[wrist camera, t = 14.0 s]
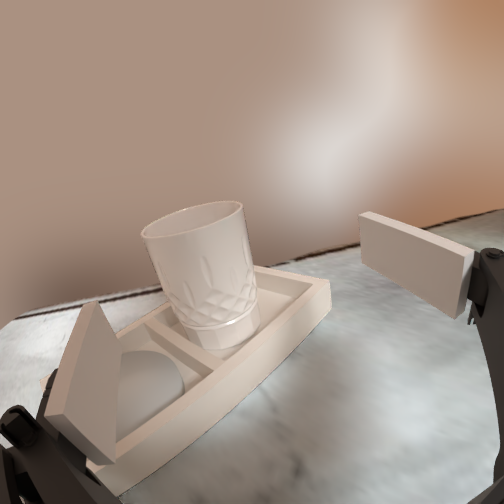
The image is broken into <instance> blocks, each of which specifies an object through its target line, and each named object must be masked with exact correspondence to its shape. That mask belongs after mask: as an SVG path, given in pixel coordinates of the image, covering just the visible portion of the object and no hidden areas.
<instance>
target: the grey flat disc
mask: <svg viewBox="0 0 504 504" xmlns="http://www.w3.org/2000/svg"><path fill="white" fill-rule="evenodd" d="M184 394H185V385H184V381H183V378H182V376H181V374H180V372H179V370H178V368H177V366H176V365H175V363H174V362H173V361H172V360H171V359H170V358H168V357H167V356H166V355H163V354H161V353H158V352H154V351H147V350H141V351H132V352H127V353H123V354H122V356H121V364H120V374H119V385H118V398H117V415H116V443H117V442H119V441H120V440H122V439H123V438H125V437H126V436H128V435H129V434H130V433H132V432H133V431H135V430H136V429H138V428H139V427H141V426H142V425H143V424H145V423H146V422H148V421H149V420H150V419H152V418H153V417H155V416H156V415H157V414H159V413H160V412H161V411H163V410H164V409H165V408H167V407H168V406H169V405H171V404H172V403H173V402H175V401H176V400H177V399H179V398H180V397H181V396H183V395H184Z"/></svg>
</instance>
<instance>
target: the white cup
mask: <svg viewBox="0 0 504 504" xmlns="http://www.w3.org/2000/svg"><path fill="white" fill-rule="evenodd" d="M141 237H142V239H143V242H144V244H145V247H146V250H147V252H148V254H149V257H150V259H151V262H152V265H153V267H154V269H155V272H156V274H157V276H158V279H159V281H160V284H161V286H162V288H163V290H164V293H165V295H166V297H167V299H168V302H169V303H170V305H171V307H172V309H173V311H174V314H175V316H176V317H177V318H178V319H179V321H180V323H181V325H182V327H183V329H184V331H185V333H186V335H187V337H188V339H189V340H190V341H191V342H192V343H194V344H196V345H197V346H199V347H201V348H202V349H204V350H222V349H226V348H229V347H232V346H235V345H238V344H241V343H242V342H244V341H245V340H246V339H248V338H249V337H251V336H252V335H253V334H254V333H255V332H256V330H257V328H258V327H259V325H260V323H261V318H260V310H259V305H258V300H257V285H256V278H255V271H254V265H253V260H252V254H251V249H250V242H249V237H248V231H247V226H246V220H245V214H244V208H243V204H242V203H240V202H238V201H218V202H211V203H206V204H201V205H197V206H193V207H189V208H186V209H183V210H180V211H177V212H174V213H171V214H169V215H166V216H164V217H162V218H160V219H157V220H156V221H154V222H152V223H150V224H149V225H147V226H146V227H145V228H144V229H143V230H142V231H141Z"/></svg>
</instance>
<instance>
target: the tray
mask: <svg viewBox="0 0 504 504" xmlns="http://www.w3.org/2000/svg"><path fill="white" fill-rule="evenodd" d="M254 271H255V278H256V285H257V300H258V305H259V310H260V318H261V323H260V325H259V327H258V328H257V330H256V332H255V333H254V334H253V335H252V336H251V337H249V338H248V339H246V340H245V341H244V342H242V343H241V344H238V345H235V346H232V347H229V348H226V349H222V350H204V349H202V348H201V347H199V346H197V345H196V344H194V343H192V342H191V341H190V340H189V339H188V337H187V335H186V333H185V331H184V329H183V327H182V325H181V323H180V321H179V319H178V318H177V317H176V316H175V314H174V311H173V309H172V307H171V305H170V303H169V302H166V303H164V304H163V305H161V306H159V307H158V308H156V309H155V310H153V311H151V312H150V313H148V314H146V315H145V316H143V317H142V318H140V319H138V320H137V321H135V322H134V323H132V324H130V325H129V326H127V327H125V328H124V329H122V330H121V331H119V332H117V333H116V334H115V335H116V337H117V339H118V341H119V342H120V344H121V346H122V354H123V353H127V352H132V351H141V350H147V351H154V352H158V353H161V354H163V355H166V356H167V357H168V358H170V359H171V360H172V361H173V362H174V363H175V365H176V366H177V368H178V370H179V372H180V374H181V376H182V378H183V381H184V385H185V394H184V395H183V396H181V397H180V398H179V399H177V400H176V401H175V402H173V403H172V404H171V405H169V406H168V407H167V408H165V409H164V410H163V411H161V412H160V413H159V414H157V415H156V416H155V417H153V418H152V419H150V420H149V421H148V422H146V423H145V424H143V425H142V426H141V427H139V428H138V429H136V430H135V431H133V432H132V433H130V434H129V435H128V436H126V437H125V438H123V439H122V440H120V441H119V442H117V443H116V464H110V465H100V466H97V465H95V464H94V463H93V462H92V461H90V460H89V459H88V458H87V459H86V467H88V468H89V469H90V470H91V471H92V472H93V473H94V474H95V475H96V476H97V477H98V478H99V480H100V481H101V482H102V483H103V484H104V485H105V486H106V487H107V488H108V489H109V490H110V491H111V493H112V494H113V495H114V496H115V497H117V496H119V495H121V494H122V493H124V492H125V491H127V490H128V489H130V488H131V487H133V486H134V485H136V484H137V483H139V482H140V481H142V480H143V479H145V478H146V477H148V476H149V475H150V474H152V473H153V472H155V471H156V470H157V469H159V468H160V467H162V466H163V465H164V464H166V463H167V462H168V461H170V460H171V459H172V458H174V457H175V456H176V455H178V454H179V453H180V452H181V451H183V450H184V449H185V448H187V447H188V446H189V445H190V444H192V443H193V442H194V441H195V440H197V439H198V438H199V437H200V436H202V435H203V434H204V433H205V432H206V431H208V430H209V429H210V428H211V427H212V426H214V425H215V424H216V423H217V422H218V421H219V420H221V419H222V418H223V417H224V416H225V415H226V414H227V413H229V412H230V411H231V410H232V409H233V408H234V407H235V406H236V405H238V404H239V403H240V402H241V401H242V400H243V399H244V398H245V397H246V396H247V395H248V394H250V393H251V392H252V391H253V390H254V389H255V388H256V387H257V386H258V385H259V384H260V383H261V382H262V381H263V380H264V379H265V378H266V377H267V376H268V375H269V374H271V373H272V372H273V371H274V370H275V369H276V368H277V367H278V366H279V365H280V364H281V363H282V362H283V361H284V360H285V359H286V357H287V356H288V355H289V354H290V353H291V352H292V351H293V350H294V349H295V348H296V347H297V346H298V345H299V344H300V343H301V342H302V341H303V340H304V339H305V338H306V337H307V335H308V334H309V333H310V332H311V331H312V330H313V329H314V328H315V327H316V326H317V325H318V323H319V322H320V321H321V320H322V319H323V318H324V317H325V316H326V315H327V313H328V312H329V311H330V310H331V309H332V305H331V293H330V281H329V280H325V279H320V278H315V277H310V276H305V275H300V274H295V273H290V272H285V271H280V270H275V269H270V268H265V267H260V266H255V265H254ZM51 374H52V373H51ZM51 374H49V375H48V376H46V377H45V378H43V379H41V380H40V384H41V387H42V391H43V393H44V390H46V389H45V387H46V384H47V381H48V378H49V377H50V376H51Z"/></svg>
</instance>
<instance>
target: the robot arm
mask: <svg viewBox="0 0 504 504" xmlns="http://www.w3.org/2000/svg"><path fill="white" fill-rule="evenodd" d="M358 219H359V230H360V243H361V258H362V263H363V264H365V265H366V266H368V267H370V268H371V269H373V270H375V271H377V272H378V273H380V274H382V275H383V276H385V277H387V278H388V279H390V280H392V281H393V282H395V283H397V284H398V285H400V286H402V287H403V288H405V289H407V290H408V291H410V292H411V293H413V294H415V295H416V296H418V297H420V298H421V299H423V300H424V301H426V302H428V303H429V304H431V305H432V306H434V307H436V308H437V309H439V310H440V311H442V312H443V313H445V314H447V315H448V316H450V317H451V318H453V319H454V320H455V319H456V318H457V317H458V316H459V315H461V314H462V313H463V312H464V311H465V307H466V302H467V298H468V299H469V300H471V301H472V305H471V309H470V313H469V318H468V325H470V322H471V319H472V318H474V322H473V324H476V325H477V329H478V332H479V335H480V338H481V342H482V345H483V349H484V353H485V356H486V360H487V364H488V368H489V373H490V377H491V382H492V387H493V392H494V397H495V403H496V410H497V417H498V424H499V434H500V450H499V453H498V456H497V458H496V461H495V465H494V479H493V484H492V485H491V486H490V487H489V488H487V489H486V490H485V491H483V492H482V493H481V494H479V495H478V496H477V497H475V498H474V499H472V500H471V501H469V502H468V503H467V504H504V252H503V251H502V250H499V249H496V248H485V249H483V250H481V252H480V253H478V252H476V251H474V250H473V249H471V248H468V247H466V246H463V245H461V244H458V243H456V242H453V241H451V240H448V239H446V238H443V237H441V236H438V235H436V234H433V233H430V232H428V231H425V230H422V229H419V228H417V227H414V226H411V225H408V224H406V223H403V222H400V221H397V220H394V219H391V218H388V217H385V216H382V215H379V214H376V213H373V212H370V211H369V212H365V213H362V214H359V215H358ZM121 356H122V346H121V344H120V342H119V341H118V339H117V337H116V335H115V333H114V332H113V330H112V328H111V326H110V324H109V322H108V320H107V318H106V316H105V315H104V313H103V311H102V309H101V307H100V305H99V303H98V300H96V301H93V302H90V303H87V304H84V305H83V307H82V309H81V311H80V314H79V316H78V318H77V321H76V323H75V326H74V328H73V331H72V333H71V336H70V338H69V341H68V343H67V346H66V348H65V351H64V354H63V357H62V359H61V362H60V365H59V368H57V369H55V370H54V371H53V373H52V374H51V376H50V377H49V378H48V381H47V384H46V387H45V389H46V390H44V393H43V398H42V400H41V403H40V406H39V409H38V413H37V416H36V420H35V419H34V418H33V417H32V416H31V414H30V413H29V412H28V411H27V410H26V409H25V408H24V407H23V406H21V405H16V406H13V407H11V408H9V409H8V410H7V411H6V412H5V413H4V414H3V416H2V417H1V419H0V433H1V434H2V435H3V436H4V437H5V438H6V439H7V440H8V441H9V442H10V443H11V444H12V445H13V447H10V448H8V449H5V448H4V447H3V446H2V445H1V444H0V504H23V503H22V501H21V499H20V496H21V497H22V498H24V501H25V504H122V503H121V502H120V501H119V500H118V499H117V498H116V497H115V496H114V495H113V494H112V493H111V491H110V490H109V489H108V488H107V487H106V486H105V485H104V484H103V483H102V482H101V481H100V480H99V478H98V477H97V476H96V475H95V474H94V473H93V472H92V471H91V470H90V469H89V468H88V467H86V459H87V458H88V459H89V460H90V461H92V462H93V463H94V464H95V465H97V466H100V465H110V464H116V415H117V398H118V385H119V374H120V364H121Z"/></svg>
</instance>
